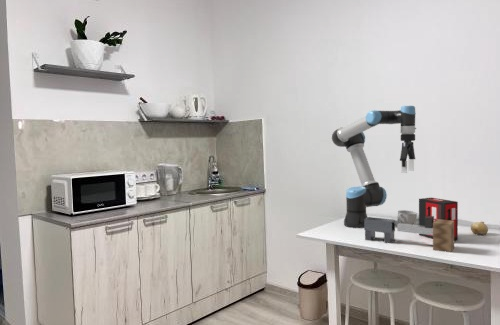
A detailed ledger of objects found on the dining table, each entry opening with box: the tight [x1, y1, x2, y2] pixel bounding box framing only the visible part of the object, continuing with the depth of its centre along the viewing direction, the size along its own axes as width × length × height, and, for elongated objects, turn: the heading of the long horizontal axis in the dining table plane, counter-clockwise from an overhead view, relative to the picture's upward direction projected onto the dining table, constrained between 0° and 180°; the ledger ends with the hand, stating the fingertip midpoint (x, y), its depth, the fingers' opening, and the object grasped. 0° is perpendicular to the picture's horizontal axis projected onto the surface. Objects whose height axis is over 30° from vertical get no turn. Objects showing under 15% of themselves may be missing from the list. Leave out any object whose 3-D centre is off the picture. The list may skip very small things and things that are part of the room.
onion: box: [470, 221, 489, 236], centre depth 203 cm, size 8×8×7 cm
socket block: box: [432, 219, 455, 253], centre depth 178 cm, size 8×9×13 cm
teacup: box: [396, 209, 418, 225], centre depth 229 cm, size 14×11×8 cm
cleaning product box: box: [418, 197, 459, 242], centre depth 198 cm, size 16×9×20 cm, turn 21°
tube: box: [396, 216, 434, 235], centre depth 184 cm, size 21×5×8 cm, turn 53°
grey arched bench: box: [363, 216, 396, 244], centre depth 197 cm, size 14×7×11 cm, turn 53°
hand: (407, 171), depth 211 cm, fingers open, 13 cm apart
